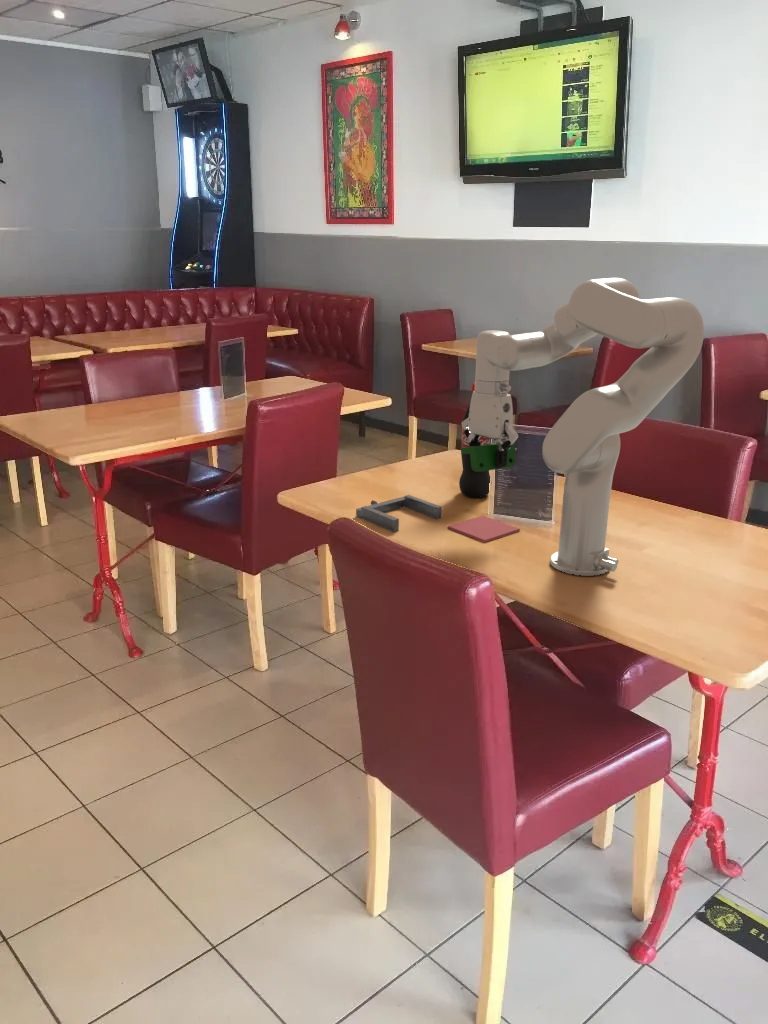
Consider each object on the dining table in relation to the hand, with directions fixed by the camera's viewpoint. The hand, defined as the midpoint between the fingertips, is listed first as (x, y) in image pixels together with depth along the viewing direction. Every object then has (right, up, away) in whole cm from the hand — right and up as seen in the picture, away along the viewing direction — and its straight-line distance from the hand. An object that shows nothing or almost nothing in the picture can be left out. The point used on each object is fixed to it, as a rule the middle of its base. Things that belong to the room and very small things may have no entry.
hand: (487, 462), depth 199 cm
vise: (-21, -12, +14) cm, 28 cm away
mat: (0, -16, +5) cm, 17 cm away
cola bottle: (0, -7, +31) cm, 32 cm away
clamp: (0, -1, 0) cm, 1 cm away
